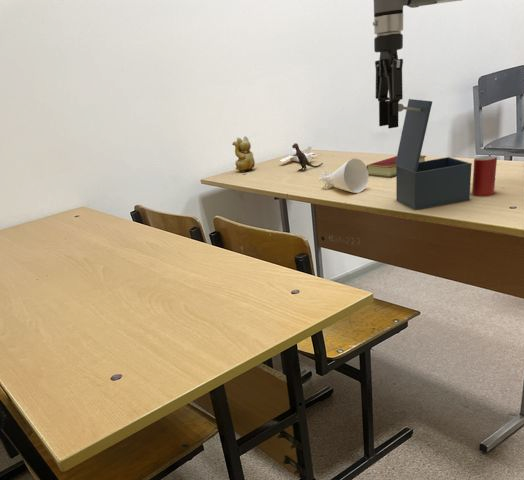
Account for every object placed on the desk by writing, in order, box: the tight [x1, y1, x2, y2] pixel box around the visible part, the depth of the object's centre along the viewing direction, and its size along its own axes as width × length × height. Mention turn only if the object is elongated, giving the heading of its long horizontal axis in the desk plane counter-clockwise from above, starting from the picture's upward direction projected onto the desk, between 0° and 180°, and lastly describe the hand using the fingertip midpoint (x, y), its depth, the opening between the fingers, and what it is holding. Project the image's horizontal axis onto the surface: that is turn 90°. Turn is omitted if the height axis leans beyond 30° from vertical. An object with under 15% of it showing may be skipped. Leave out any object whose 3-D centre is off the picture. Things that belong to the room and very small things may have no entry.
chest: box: [395, 156, 473, 211], centre depth 163 cm, size 18×14×11 cm
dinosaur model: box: [291, 143, 324, 172], centre depth 231 cm, size 4×12×15 cm
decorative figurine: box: [231, 135, 256, 173], centre depth 245 cm, size 10×8×15 cm
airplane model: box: [278, 146, 317, 163], centre depth 248 cm, size 20×20×8 cm
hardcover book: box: [366, 155, 427, 179], centre depth 208 cm, size 12×21×4 cm, turn 127°
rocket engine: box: [318, 157, 370, 194], centre depth 192 cm, size 12×12×18 cm
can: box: [471, 155, 498, 197], centre depth 163 cm, size 6×6×11 cm
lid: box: [395, 98, 433, 171], centre depth 155 cm, size 19×14×8 cm
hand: (388, 126), depth 153 cm, fingers closed on lid, 6 cm apart
